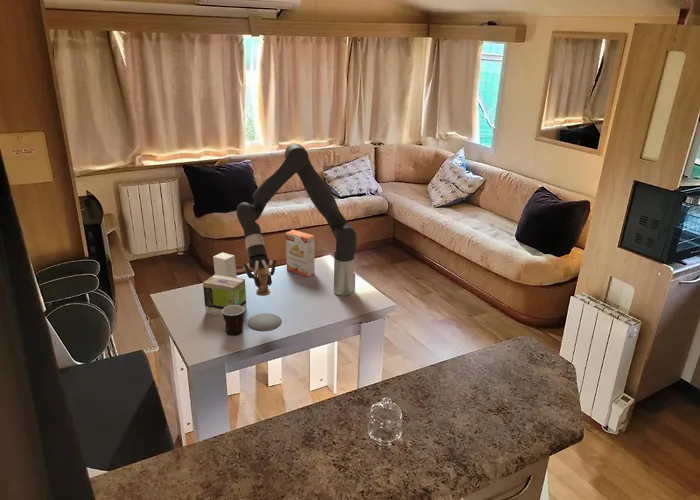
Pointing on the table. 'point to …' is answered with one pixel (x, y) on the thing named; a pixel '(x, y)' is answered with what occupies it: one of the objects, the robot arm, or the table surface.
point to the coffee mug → (233, 319)
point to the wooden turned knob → (263, 281)
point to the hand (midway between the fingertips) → (264, 285)
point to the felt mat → (264, 321)
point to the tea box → (223, 293)
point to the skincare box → (225, 265)
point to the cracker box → (300, 253)
